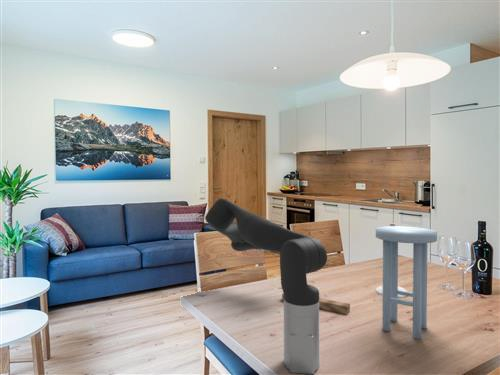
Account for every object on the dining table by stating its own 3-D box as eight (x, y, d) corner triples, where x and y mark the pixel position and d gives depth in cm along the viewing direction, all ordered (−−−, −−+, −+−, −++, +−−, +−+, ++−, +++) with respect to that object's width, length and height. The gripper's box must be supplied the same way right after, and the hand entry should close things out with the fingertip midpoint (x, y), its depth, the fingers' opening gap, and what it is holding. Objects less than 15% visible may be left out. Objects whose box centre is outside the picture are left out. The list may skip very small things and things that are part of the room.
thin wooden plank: (349, 312, 125) (349, 303, 125) (347, 315, 122) (347, 306, 122) (285, 299, 139) (285, 291, 139) (282, 301, 136) (282, 293, 136)
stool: (440, 325, 113) (441, 229, 112) (430, 347, 99) (431, 237, 98) (383, 312, 124) (384, 224, 123) (367, 330, 109) (368, 231, 108)
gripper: (280, 248, 147) (315, 252, 138) (262, 254, 136) (298, 259, 126) (280, 231, 147) (315, 234, 137) (261, 235, 136) (298, 239, 126)
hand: (307, 246), depth 132 cm, fingers open, 8 cm apart
